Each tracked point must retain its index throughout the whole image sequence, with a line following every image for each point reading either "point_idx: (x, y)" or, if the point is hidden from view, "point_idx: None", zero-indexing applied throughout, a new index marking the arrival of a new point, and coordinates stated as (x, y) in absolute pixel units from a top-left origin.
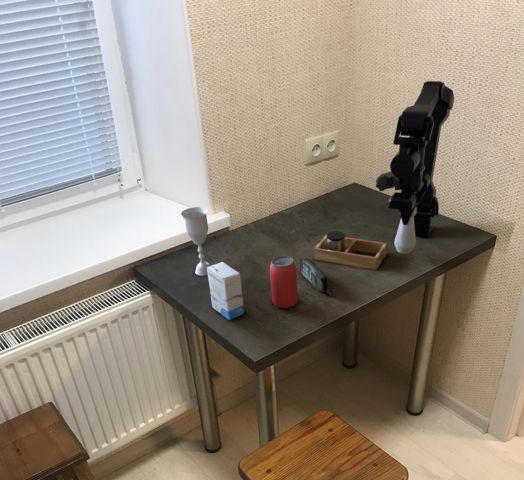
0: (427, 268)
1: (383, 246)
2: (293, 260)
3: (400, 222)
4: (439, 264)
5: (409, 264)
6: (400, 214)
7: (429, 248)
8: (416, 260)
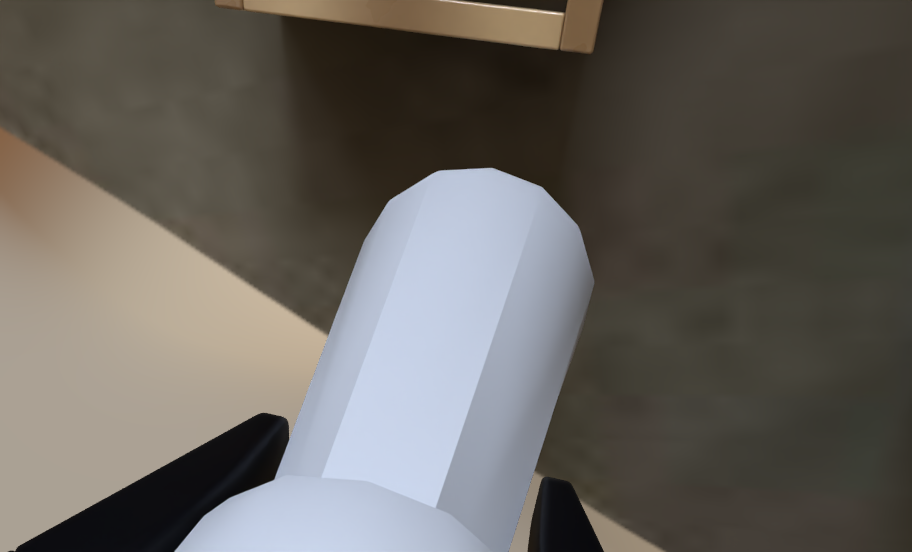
0: None
1: (499, 24)
2: None
3: (352, 367)
4: None
5: None
6: (22, 545)
7: (725, 382)
8: None
